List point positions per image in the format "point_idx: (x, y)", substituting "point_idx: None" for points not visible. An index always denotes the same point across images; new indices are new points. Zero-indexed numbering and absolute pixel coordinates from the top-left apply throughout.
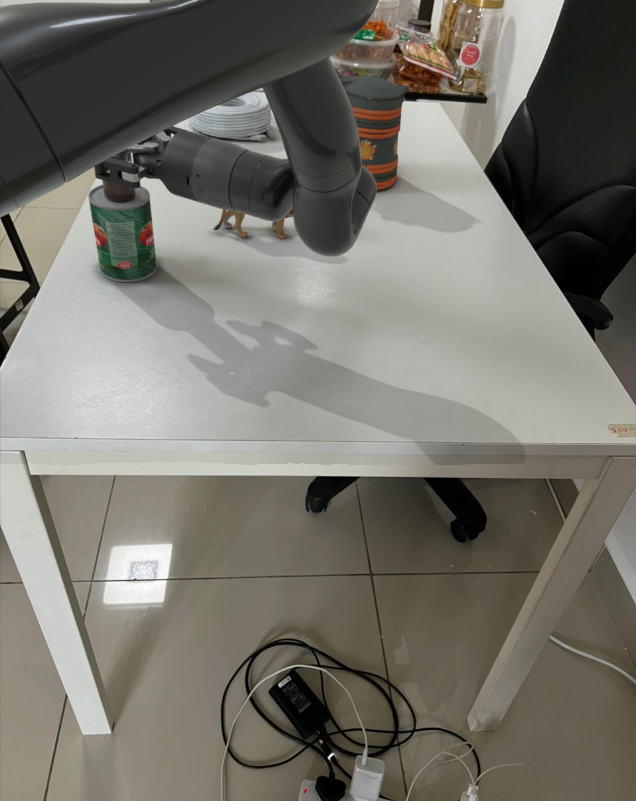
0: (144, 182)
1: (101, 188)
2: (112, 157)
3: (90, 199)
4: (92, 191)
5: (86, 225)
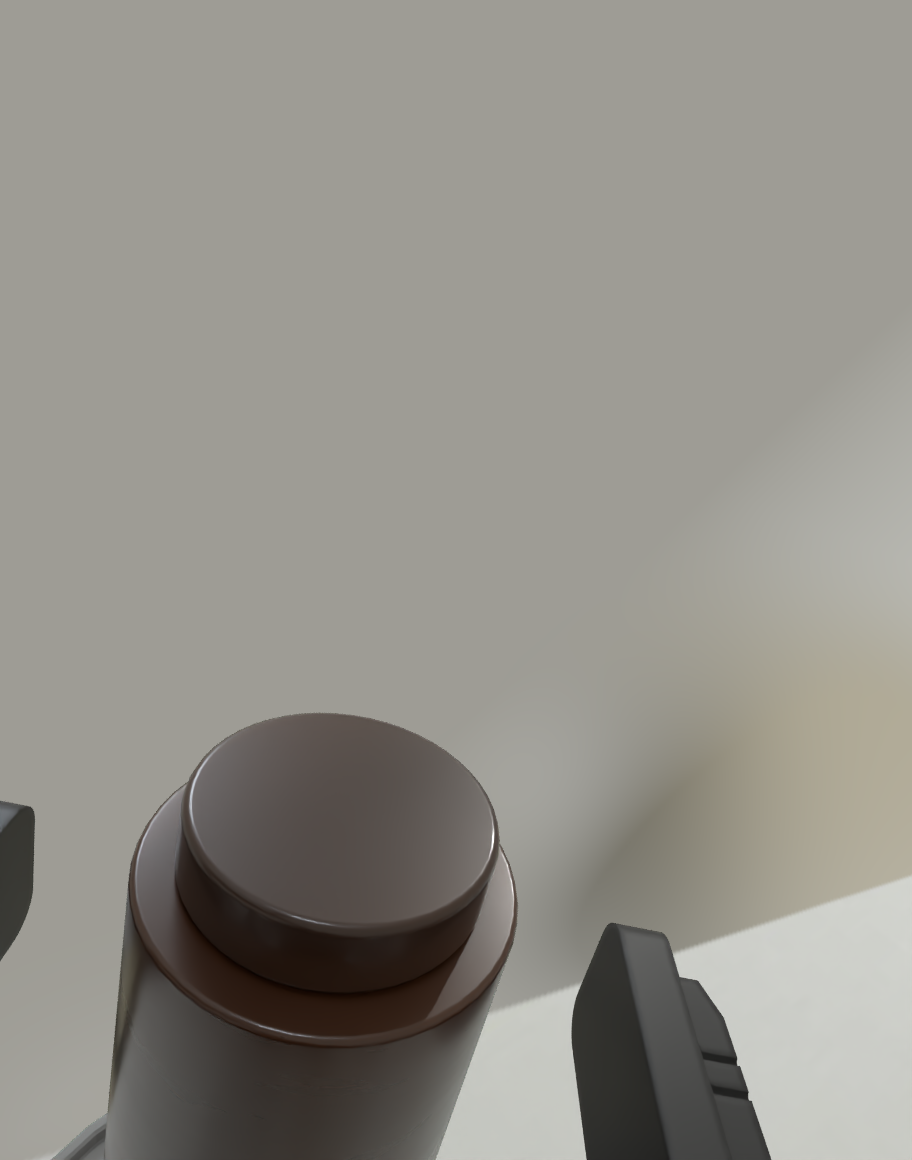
0: (893, 1059)
1: None
2: (109, 1147)
3: (76, 1141)
4: None
5: (479, 1044)
